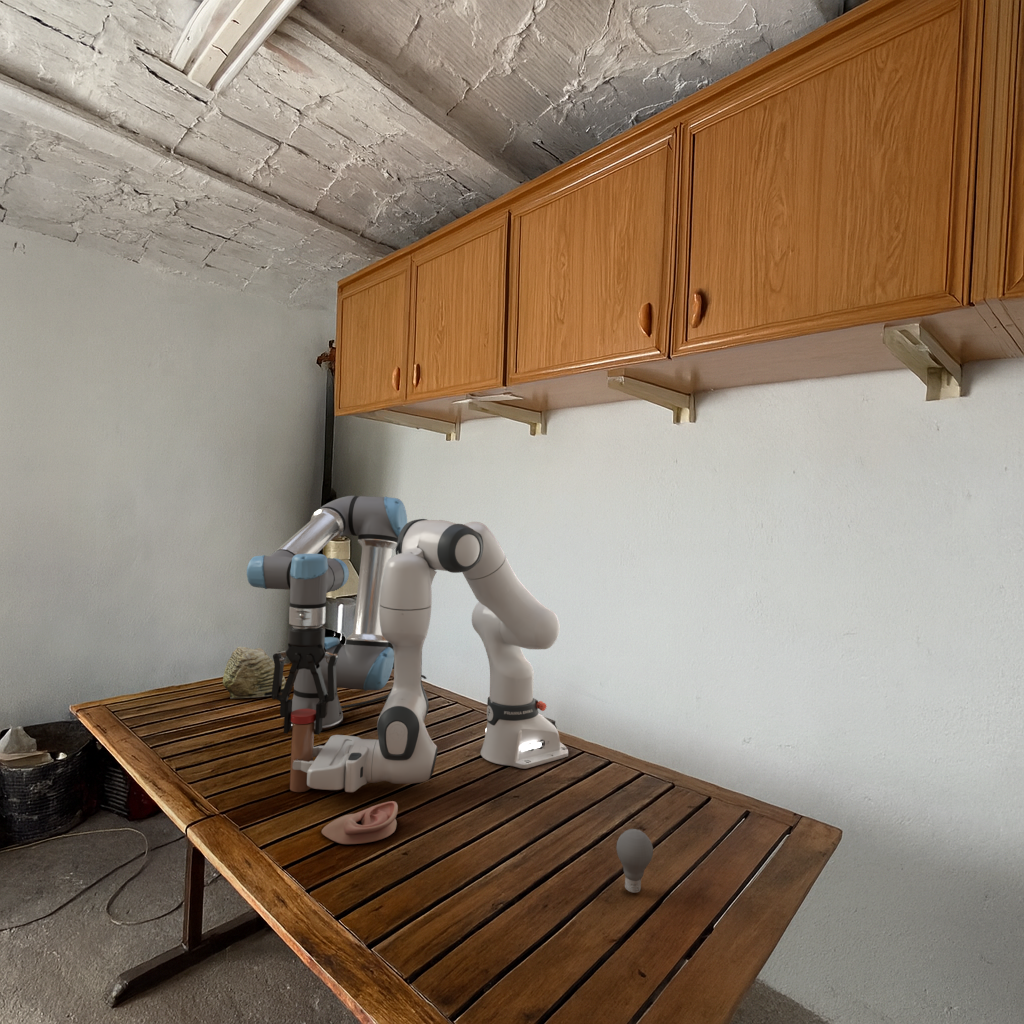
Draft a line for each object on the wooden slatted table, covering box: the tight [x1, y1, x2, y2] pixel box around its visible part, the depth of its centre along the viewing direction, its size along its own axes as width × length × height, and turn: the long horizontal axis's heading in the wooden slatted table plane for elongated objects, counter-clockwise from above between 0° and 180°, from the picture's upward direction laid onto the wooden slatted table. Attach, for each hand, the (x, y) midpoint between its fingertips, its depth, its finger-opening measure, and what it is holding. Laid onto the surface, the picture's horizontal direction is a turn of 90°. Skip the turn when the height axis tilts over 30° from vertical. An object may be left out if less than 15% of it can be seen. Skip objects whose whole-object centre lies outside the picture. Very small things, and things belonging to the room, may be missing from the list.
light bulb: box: [615, 828, 654, 894], centre depth 106 cm, size 6×6×10 cm
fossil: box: [222, 646, 287, 699], centre depth 198 cm, size 9×18×15 cm, turn 132°
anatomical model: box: [321, 800, 399, 845], centre depth 121 cm, size 13×4×12 cm
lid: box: [291, 709, 316, 724], centre depth 137 cm, size 5×5×2 cm
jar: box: [289, 721, 315, 793], centre depth 137 cm, size 5×5×16 cm
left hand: (303, 731), depth 137 cm, fingers open, 6 cm apart
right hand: (297, 758), depth 137 cm, fingers closed on jar, 4 cm apart
